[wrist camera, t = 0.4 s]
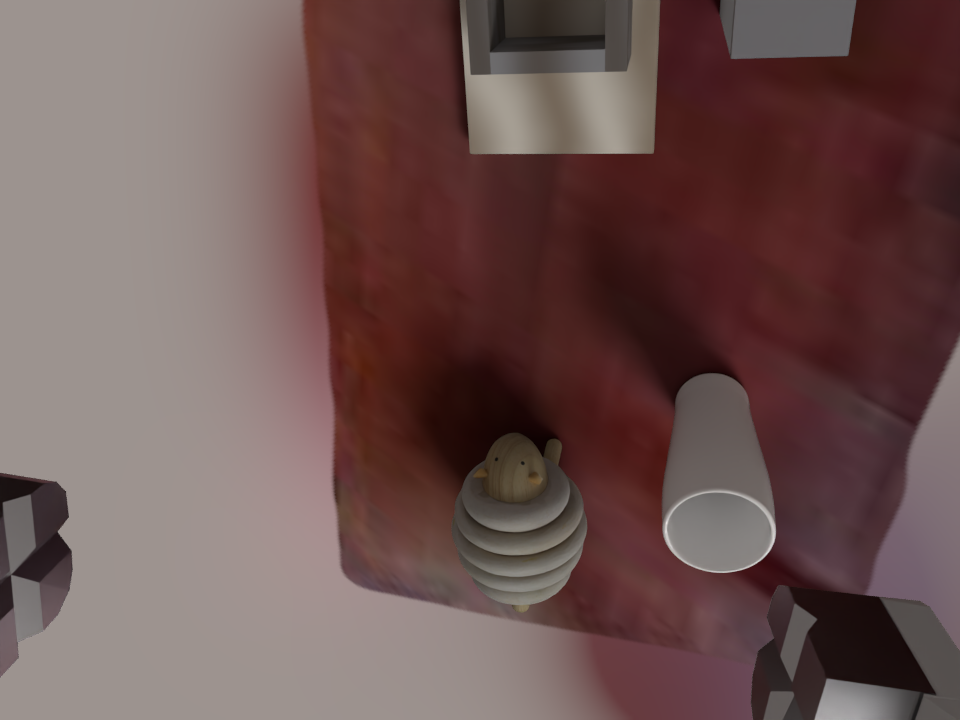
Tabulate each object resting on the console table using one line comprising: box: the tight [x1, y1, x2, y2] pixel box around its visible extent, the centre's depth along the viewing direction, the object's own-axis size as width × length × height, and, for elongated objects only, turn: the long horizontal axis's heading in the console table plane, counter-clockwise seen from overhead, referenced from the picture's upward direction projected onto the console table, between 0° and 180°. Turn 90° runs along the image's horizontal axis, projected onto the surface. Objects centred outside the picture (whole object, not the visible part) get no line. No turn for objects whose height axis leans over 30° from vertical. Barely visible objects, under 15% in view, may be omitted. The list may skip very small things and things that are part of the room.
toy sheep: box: [452, 433, 587, 612], centre depth 66 cm, size 11×17×11 cm, turn 8°
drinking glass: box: [662, 373, 776, 573], centre depth 57 cm, size 7×7×15 cm
